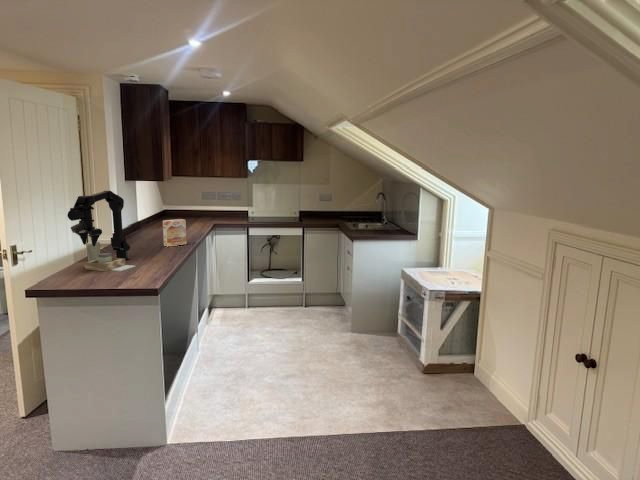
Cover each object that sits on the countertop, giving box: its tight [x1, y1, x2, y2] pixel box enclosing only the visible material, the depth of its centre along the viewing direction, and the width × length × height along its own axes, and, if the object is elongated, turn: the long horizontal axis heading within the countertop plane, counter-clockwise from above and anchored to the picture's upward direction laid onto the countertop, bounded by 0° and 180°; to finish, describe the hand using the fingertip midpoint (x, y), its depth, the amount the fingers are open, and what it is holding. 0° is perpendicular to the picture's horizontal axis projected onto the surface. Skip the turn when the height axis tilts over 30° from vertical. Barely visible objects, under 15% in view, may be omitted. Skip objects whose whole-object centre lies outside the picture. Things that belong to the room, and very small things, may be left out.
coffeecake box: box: [162, 218, 188, 248], centre depth 317 cm, size 15×7×20 cm, turn 131°
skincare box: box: [86, 241, 102, 262], centre depth 265 cm, size 6×4×12 cm
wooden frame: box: [84, 257, 127, 272], centre depth 252 cm, size 16×15×4 cm
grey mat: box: [111, 264, 136, 272], centre depth 249 cm, size 12×6×1 cm, turn 165°
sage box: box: [98, 252, 113, 264], centre depth 251 cm, size 5×5×8 cm
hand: (89, 245), depth 244 cm, fingers open, 9 cm apart
